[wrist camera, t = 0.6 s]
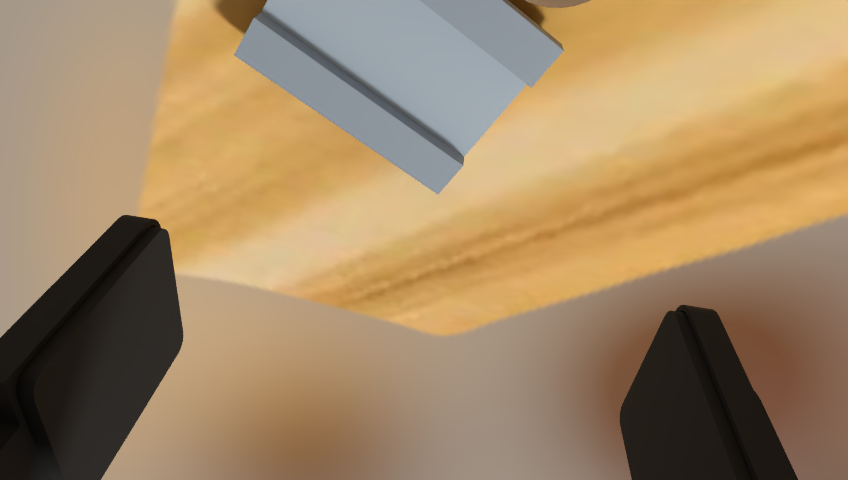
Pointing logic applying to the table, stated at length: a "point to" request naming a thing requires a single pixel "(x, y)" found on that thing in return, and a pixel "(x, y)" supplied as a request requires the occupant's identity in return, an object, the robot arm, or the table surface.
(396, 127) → the notched board
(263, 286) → the table surface
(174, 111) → the table surface
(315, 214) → the table surface
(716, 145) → the table surface
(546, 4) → the door knob
